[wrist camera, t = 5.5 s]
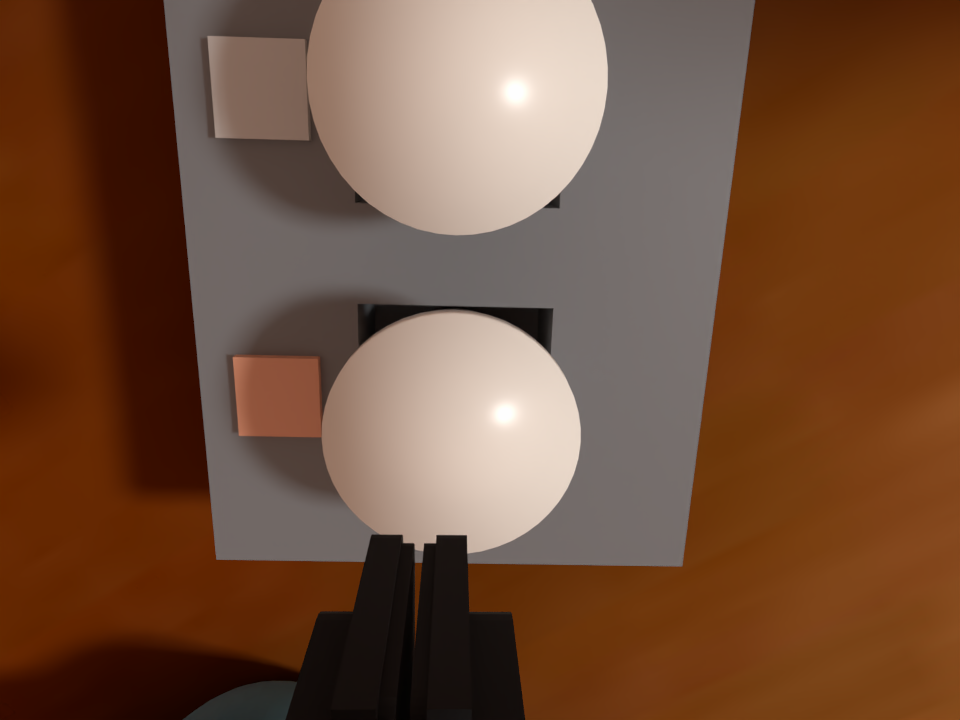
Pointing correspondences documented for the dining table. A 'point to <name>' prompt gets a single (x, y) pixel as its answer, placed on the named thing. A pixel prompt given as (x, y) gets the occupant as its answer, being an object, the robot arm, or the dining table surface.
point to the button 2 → (451, 430)
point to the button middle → (457, 104)
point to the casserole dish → (249, 703)
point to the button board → (455, 277)
